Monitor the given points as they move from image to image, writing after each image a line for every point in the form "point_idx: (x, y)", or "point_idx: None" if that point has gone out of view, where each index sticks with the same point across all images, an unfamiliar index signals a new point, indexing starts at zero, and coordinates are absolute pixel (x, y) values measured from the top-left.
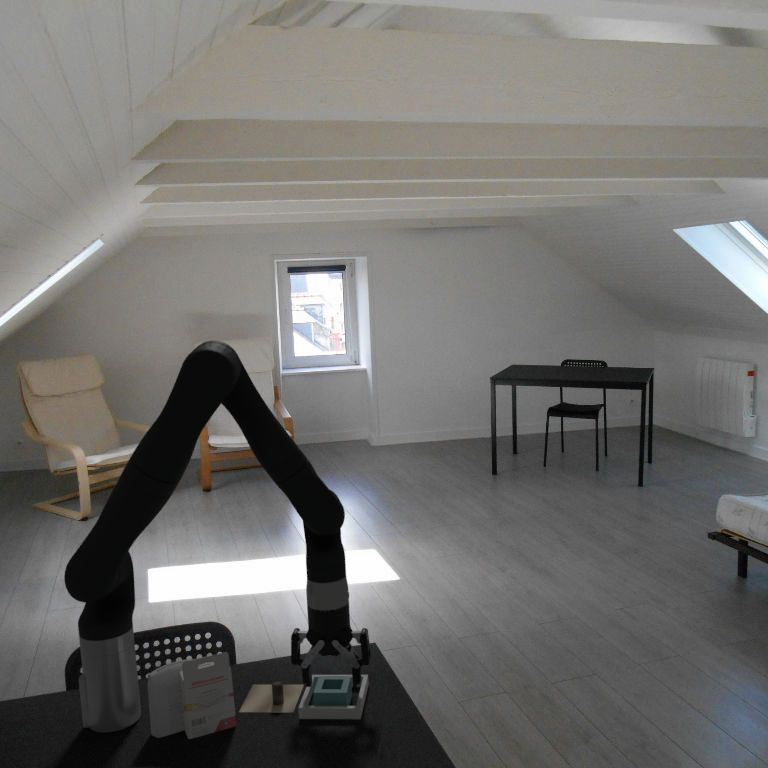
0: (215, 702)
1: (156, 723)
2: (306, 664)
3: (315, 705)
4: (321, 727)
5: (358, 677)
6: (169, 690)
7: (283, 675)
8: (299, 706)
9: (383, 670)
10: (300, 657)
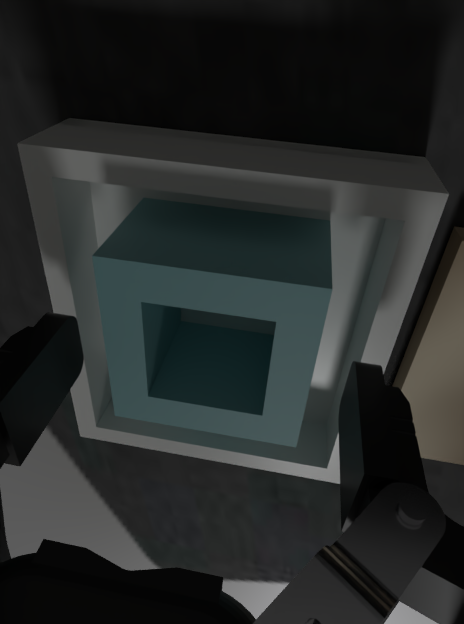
0: None
1: None
2: (390, 515)
3: (322, 242)
4: (290, 105)
5: (6, 357)
6: None
7: (452, 519)
8: (438, 212)
9: (87, 472)
10: (452, 604)
